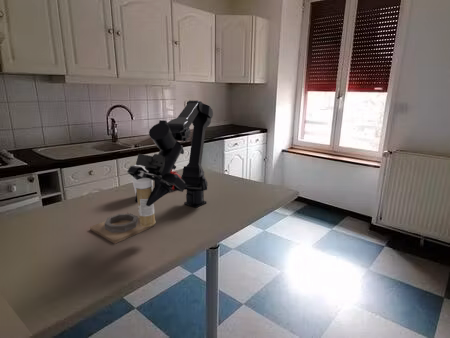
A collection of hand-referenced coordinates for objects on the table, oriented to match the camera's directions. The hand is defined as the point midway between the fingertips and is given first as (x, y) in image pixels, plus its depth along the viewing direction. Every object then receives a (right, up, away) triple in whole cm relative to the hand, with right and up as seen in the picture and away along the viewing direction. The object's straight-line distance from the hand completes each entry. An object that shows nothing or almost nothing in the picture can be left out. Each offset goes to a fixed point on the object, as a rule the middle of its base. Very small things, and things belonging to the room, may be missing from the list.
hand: (141, 203), depth 81 cm
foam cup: (-10, -2, +39) cm, 41 cm away
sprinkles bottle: (+1, -6, +3) cm, 7 cm away
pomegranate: (-1, +1, +51) cm, 51 cm away
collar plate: (-10, -9, +12) cm, 18 cm away
